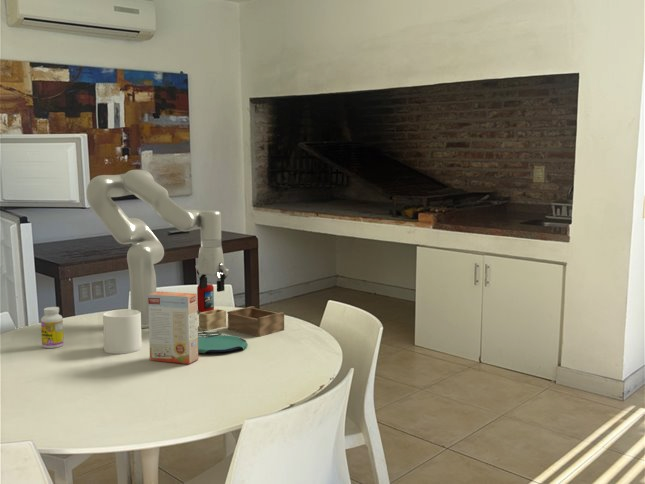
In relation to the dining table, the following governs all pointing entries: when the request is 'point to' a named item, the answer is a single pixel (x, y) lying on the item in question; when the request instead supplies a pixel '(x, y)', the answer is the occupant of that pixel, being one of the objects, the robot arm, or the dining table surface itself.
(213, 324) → the oak crate
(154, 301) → the cracker box
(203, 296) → the beverage can
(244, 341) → the cutlery set
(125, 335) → the cup
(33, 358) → the dining table surface
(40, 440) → the dining table surface
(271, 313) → the walnut crate
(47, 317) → the supplement bottle
